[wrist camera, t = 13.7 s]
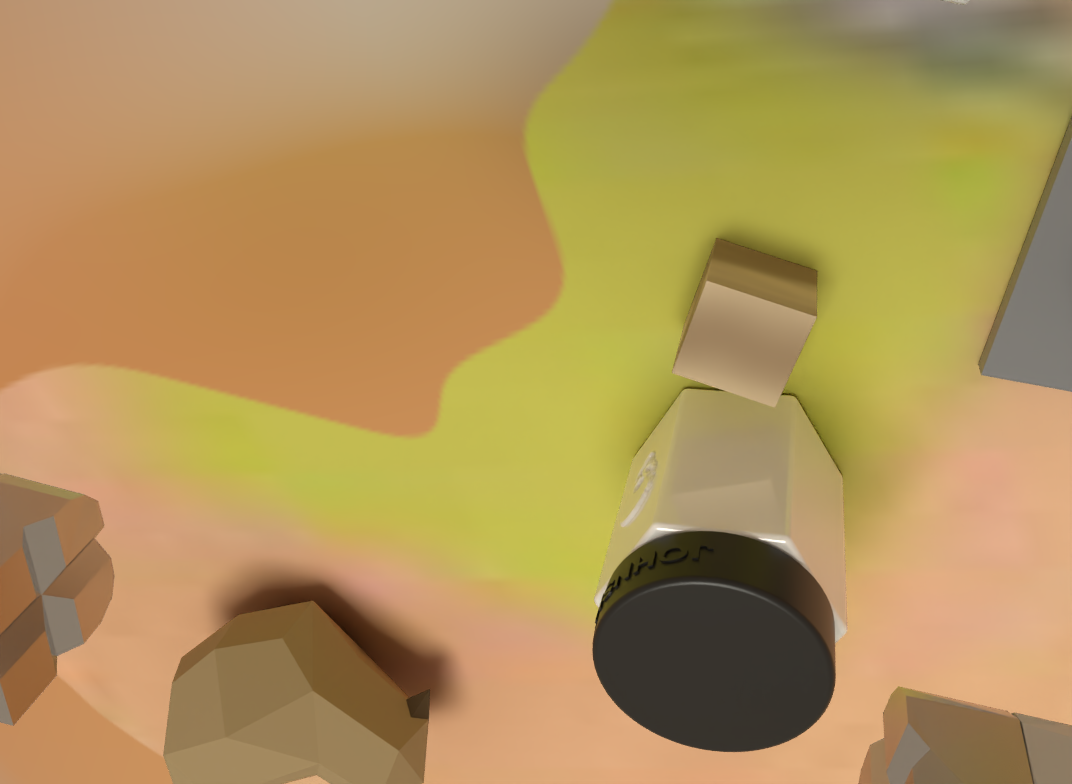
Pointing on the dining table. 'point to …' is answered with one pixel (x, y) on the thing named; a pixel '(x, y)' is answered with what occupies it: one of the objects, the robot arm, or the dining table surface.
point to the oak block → (747, 323)
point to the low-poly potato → (290, 707)
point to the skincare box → (958, 1)
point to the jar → (725, 576)
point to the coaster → (1039, 293)
